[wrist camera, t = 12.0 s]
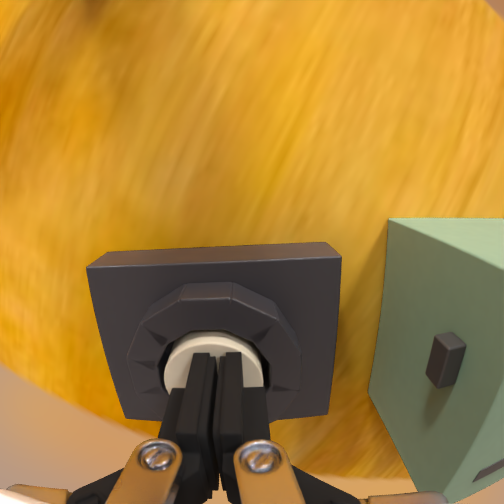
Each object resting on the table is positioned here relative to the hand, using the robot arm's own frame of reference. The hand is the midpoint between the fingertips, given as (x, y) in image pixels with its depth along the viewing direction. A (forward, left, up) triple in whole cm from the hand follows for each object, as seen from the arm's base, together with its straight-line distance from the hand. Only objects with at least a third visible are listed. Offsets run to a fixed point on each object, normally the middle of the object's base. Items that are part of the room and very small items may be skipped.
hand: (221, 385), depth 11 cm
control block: (0, 0, -4) cm, 4 cm away
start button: (0, 0, -2) cm, 2 cm away
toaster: (+15, 0, -4) cm, 15 cm away
